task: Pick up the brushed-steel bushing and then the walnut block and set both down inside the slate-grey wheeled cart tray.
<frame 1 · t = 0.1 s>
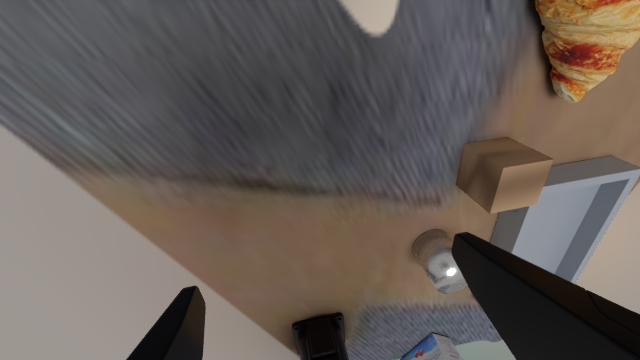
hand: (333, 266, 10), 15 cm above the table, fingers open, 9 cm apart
medicine box: (422, 347, 44), on the table
walnut block: (480, 161, 27), on the table
steel bushing: (429, 244, 32), on the table
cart: (533, 235, 35), on the table
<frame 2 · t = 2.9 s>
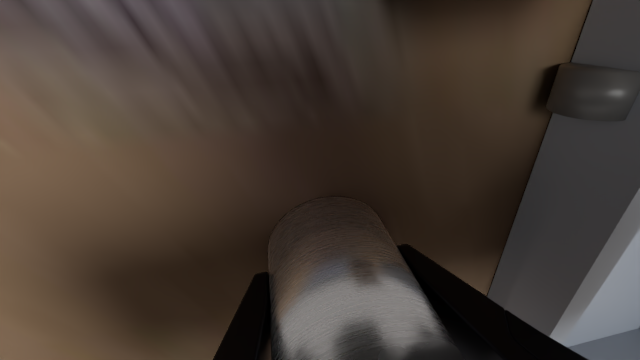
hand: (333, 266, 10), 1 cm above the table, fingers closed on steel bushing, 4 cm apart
steel bushing: (327, 245, 10), on the table, touching gripper
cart: (620, 221, 13), on the table
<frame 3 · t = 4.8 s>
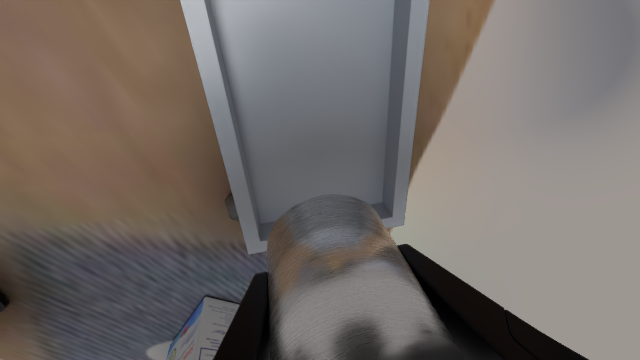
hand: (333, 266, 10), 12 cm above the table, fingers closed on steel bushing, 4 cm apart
medicine box: (209, 322, 28), on the table
steel bushing: (326, 244, 10), point 11 cm above the table, touching gripper
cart: (311, 95, 18), on the table
when the fingers open (3 cm above the table, at t = 6.8 s): steel bushing drops 1 cm, resting on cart.
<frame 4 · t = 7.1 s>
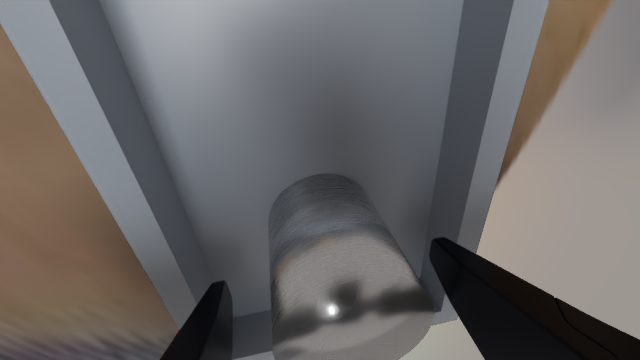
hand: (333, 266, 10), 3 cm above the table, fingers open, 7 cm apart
steel bushing: (321, 219, 12), point 1 cm above the table, touching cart
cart: (308, 122, 10), on the table
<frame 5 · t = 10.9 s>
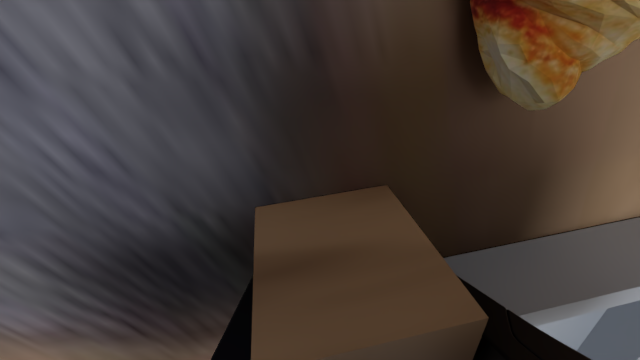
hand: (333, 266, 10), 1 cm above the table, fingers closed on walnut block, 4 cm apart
walnut block: (327, 245, 10), on the table, touching gripper
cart: (492, 354, 18), on the table
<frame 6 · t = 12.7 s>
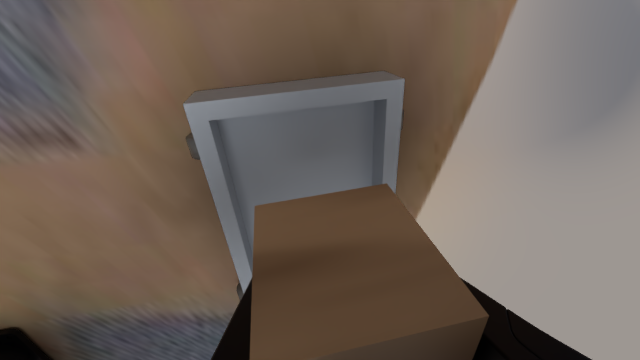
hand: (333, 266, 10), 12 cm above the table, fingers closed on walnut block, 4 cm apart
walnut block: (327, 244, 10), point 11 cm above the table, touching gripper
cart: (308, 208, 23), on the table
when the fingers open (3 cm above the table, at t = 14.6 s): walnut block drops 1 cm, resting on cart.
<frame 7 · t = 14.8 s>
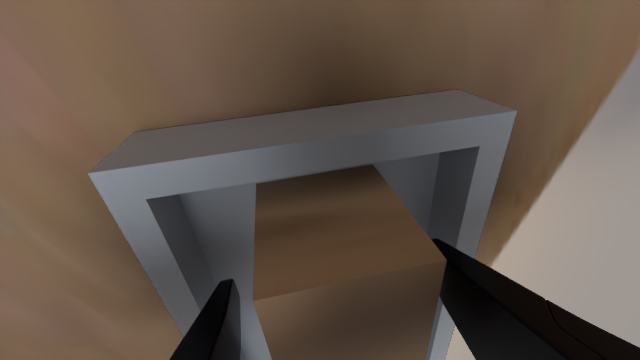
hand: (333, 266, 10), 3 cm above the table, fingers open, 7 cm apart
walnut block: (320, 220, 12), point 1 cm above the table, touching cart
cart: (325, 287, 15), on the table
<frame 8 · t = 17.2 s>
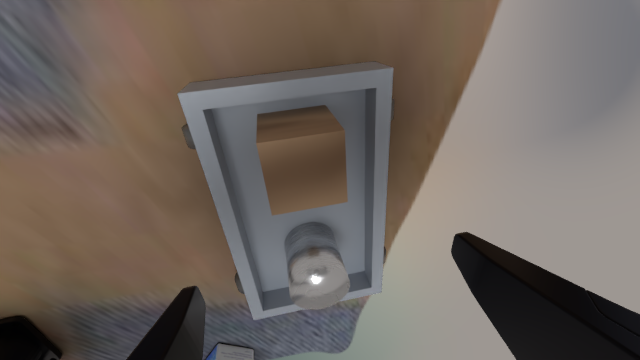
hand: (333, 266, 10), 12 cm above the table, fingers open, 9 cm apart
walnut block: (296, 141, 19), point 1 cm above the table, touching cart
steel bushing: (309, 242, 24), point 1 cm above the table, touching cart
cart: (303, 198, 23), on the table
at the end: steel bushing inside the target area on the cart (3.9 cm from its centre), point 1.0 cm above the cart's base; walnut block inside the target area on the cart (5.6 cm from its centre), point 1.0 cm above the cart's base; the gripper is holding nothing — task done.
